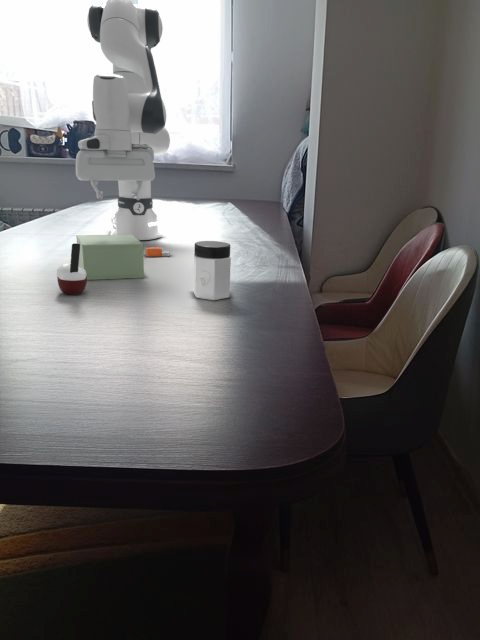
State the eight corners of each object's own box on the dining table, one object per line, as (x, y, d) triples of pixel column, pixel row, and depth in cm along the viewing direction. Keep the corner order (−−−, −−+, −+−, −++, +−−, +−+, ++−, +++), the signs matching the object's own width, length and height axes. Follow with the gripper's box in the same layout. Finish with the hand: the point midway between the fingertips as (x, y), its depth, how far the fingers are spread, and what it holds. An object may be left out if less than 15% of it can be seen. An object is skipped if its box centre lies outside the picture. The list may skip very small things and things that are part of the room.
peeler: (147, 256, 157) (147, 249, 156) (145, 254, 159) (145, 247, 158) (170, 256, 159) (170, 248, 158) (167, 254, 162) (167, 246, 161)
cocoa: (61, 287, 119) (56, 235, 115) (89, 287, 120) (86, 236, 116) (54, 299, 110) (49, 243, 106) (85, 299, 112) (81, 243, 107)
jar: (186, 296, 118) (186, 244, 113) (201, 288, 125) (201, 239, 121) (222, 302, 116) (224, 248, 111) (235, 293, 123) (237, 243, 118)
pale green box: (78, 267, 139) (76, 235, 136) (133, 265, 145) (132, 234, 142) (84, 280, 127) (82, 245, 123) (144, 277, 132) (143, 244, 129)
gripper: (150, 144, 140) (152, 197, 145) (71, 142, 131) (77, 198, 136) (156, 144, 135) (159, 199, 140) (75, 141, 126) (81, 199, 131)
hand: (118, 198), depth 138 cm, fingers open, 8 cm apart
